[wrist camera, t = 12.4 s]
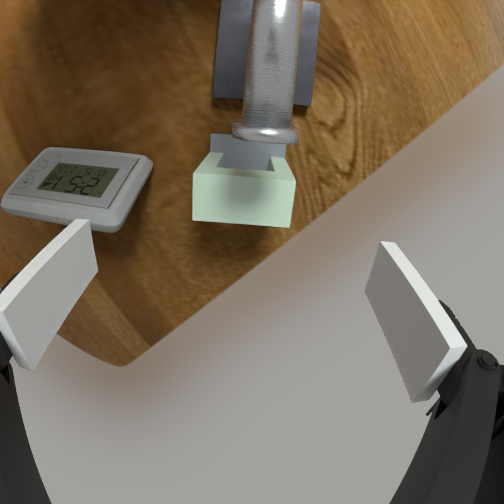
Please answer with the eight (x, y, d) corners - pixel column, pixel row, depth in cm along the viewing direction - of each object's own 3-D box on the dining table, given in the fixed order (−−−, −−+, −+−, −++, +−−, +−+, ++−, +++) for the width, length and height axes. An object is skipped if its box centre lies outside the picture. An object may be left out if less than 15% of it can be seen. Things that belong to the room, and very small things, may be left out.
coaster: (208, 201, 35) (207, 204, 34) (212, 133, 31) (210, 133, 30) (277, 207, 35) (278, 209, 34) (286, 138, 31) (286, 139, 31)
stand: (212, 118, 30) (167, 139, 14) (224, -4, 23) (195, -89, 7) (306, 126, 31) (361, 157, 15) (317, 5, 24) (377, -67, 8)
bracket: (208, 187, 33) (192, 220, 25) (209, 152, 31) (193, 173, 23) (280, 193, 33) (289, 227, 25) (284, 158, 32) (296, 181, 23)
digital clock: (163, 159, 32) (128, 185, 23) (143, 226, 36) (110, 271, 27) (52, 124, 29) (-3, 140, 20) (42, 187, 33) (-7, 218, 24)
